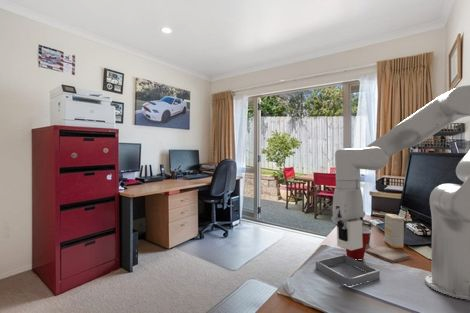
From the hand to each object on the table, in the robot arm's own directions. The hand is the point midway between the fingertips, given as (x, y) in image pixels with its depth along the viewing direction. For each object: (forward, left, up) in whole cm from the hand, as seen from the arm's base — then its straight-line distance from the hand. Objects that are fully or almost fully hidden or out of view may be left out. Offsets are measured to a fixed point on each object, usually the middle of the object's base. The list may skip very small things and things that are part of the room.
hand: (349, 238), depth 82 cm
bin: (+1, +1, -12) cm, 12 cm away
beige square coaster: (+5, -27, -12) cm, 30 cm away
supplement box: (+11, -41, -12) cm, 44 cm away
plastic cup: (+8, -13, -12) cm, 20 cm away
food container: (+21, -30, -12) cm, 39 cm away
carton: (0, 0, -3) cm, 3 cm away
